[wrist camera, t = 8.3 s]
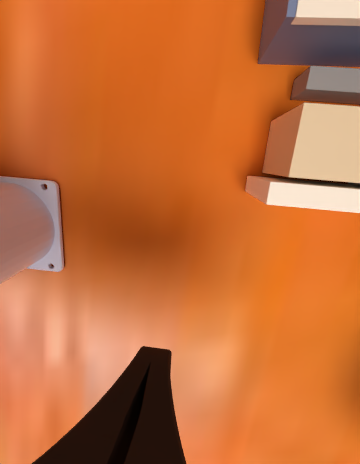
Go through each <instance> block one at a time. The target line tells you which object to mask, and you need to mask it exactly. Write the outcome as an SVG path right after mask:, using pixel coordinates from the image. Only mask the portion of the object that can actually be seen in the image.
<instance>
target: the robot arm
mask: <svg viewBox="0 0 360 464" xmlns="http://www.w3.org/2000/svg"><path fill="white" fill-rule="evenodd" d="M44 184H46V185H47V189H46V188H45V187H44ZM51 264H53V265H54V267H52V266H51ZM26 268H28V269H37V270H46V271H55V272H59V271H61V270H62V269H63V268H64V256H63V241H62V226H61V212H60V197H59V186H58V184H57V183H56V182H55V181H51V180H40V179H29V178H18V177H7V176H0V284H1V283H3V282H5V281H6V280H8V279H10V278H11V277H13V276H14V275H16V274H18V273H19V272H21V271H23V270H24V269H26ZM171 353H172V352H171V351H170V350H167V349H160V348H152V347H145V346H143V347H141V348H140V350H139V351H138V353H137V354H136V356H135V357H134V359H133V360H132V361H131V363H130V364H129V365H128V367H127V368H126V369H125V371H124V372H123V373H122V375H121V376H120V377H119V378H118V380H117V381H116V382H115V383H114V384H113V386H112V387H111V388H110V389H109V390H108V391H107V393H106V394H105V395H104V396H103V397H102V398H101V399H100V400H99V402H98V403H97V404H96V405H95V406H94V407H93V408H92V409H91V410H90V411H89V412H88V413H87V414H86V415H85V416H84V417H83V418H82V419H81V420H80V421H79V422H78V423H77V424H76V425H75V426H74V427H73V428H72V429H71V430H70V431H69V432H68V433H67V434H66V435H64V436H63V437H62V438H61V439H60V440H59V441H58V442H57V443H56V444H55V445H53V446H52V447H51V448H50V449H49V450H48V451H47V452H45V453H44V454H43V455H42V456H40V457H39V458H38V459H37V460H36V461H34V462H33V463H32V464H186V461H185V457H184V453H183V449H182V445H181V440H180V436H179V432H178V427H177V422H176V416H175V411H174V405H173V398H172V389H171V379H170V370H171Z"/></svg>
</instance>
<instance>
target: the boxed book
mask: <svg viewBox="0 0 360 464" xmlns="http://www.w3.org/2000/svg"><path fill="white" fill-rule="evenodd" d="M258 64H279V65H312V66H346V67H360V0H266V2H265V9H264V17H263V25H262V33H261V41H260V49H259V57H258Z"/></svg>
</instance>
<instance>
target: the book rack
mask: <svg viewBox="0 0 360 464" xmlns="http://www.w3.org/2000/svg"><path fill="white" fill-rule="evenodd" d="M290 100H302V101H316V102H331V103H345V104H359V105H360V69H355V68H339V67H323V66H310V67H309V68H308V69H307V70H305V71H304V72H303V73H302V74H301V75H300V76H298V77H297V78H296V79H295V80H294V83H293V89H292V94H291V99H290ZM262 173H267V174H273V175H279V176H285V177H294V178H305V179H317V180H329V181H341V182H348V184H340V183H329V182H317V181H305V180H294V179H282V178H271V177H259V176H247V182H246V188H245V192H247V193H249V194H250V195H252V196H254V197H255V198H257V199H258V200H260V201H262V202H263V203H265V204H268V205H279V206H290V207H301V208H312V209H323V210H333V211H344V212H355V213H360V107H358V106H344V105H330V104H316V103H303V104H301V105H299V106H297V107H296V108H294V109H292V110H290V111H288V112H287V113H285V114H283V115H281V116H279V117H278V118H276V119H274V120H272V121H271V125H270V130H269V136H268V142H267V147H266V153H265V159H264V165H263V170H262Z"/></svg>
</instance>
